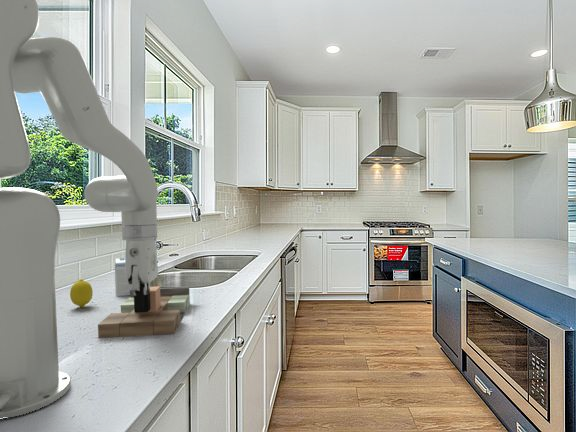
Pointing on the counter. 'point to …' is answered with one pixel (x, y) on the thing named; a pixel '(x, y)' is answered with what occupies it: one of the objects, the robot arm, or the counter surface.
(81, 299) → the lemon
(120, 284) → the light bulb box
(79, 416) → the counter surface
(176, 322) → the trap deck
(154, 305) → the block
